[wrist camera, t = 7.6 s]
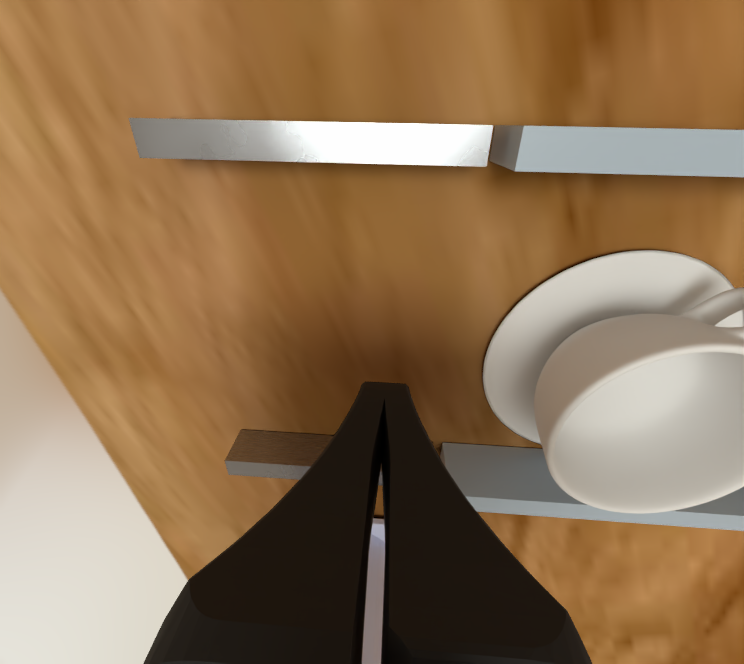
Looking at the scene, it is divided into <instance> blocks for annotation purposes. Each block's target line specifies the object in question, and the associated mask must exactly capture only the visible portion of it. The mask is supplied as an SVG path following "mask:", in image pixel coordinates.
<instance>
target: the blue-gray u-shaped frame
mask: <svg viewBox="0 0 744 664" xmlns="http://www.w3.org/2000/svg"><path fill="white" fill-rule="evenodd" d="M489 161H491V162H493V163H496V164H498V165H501V166H503V167H506V168H508V169H510V170H513V171H523V172H562V173H600V174H638V175H677V176H715V177H744V130H714V129H664V128H613V127H563V126H505V125H495V129H494V135H493V141H492V147H491V153H490V159H489ZM440 458H441V460H442V462H443V464H444V465H445V467H446V469H447V470H448V472H449V473H450V475H451V476H452V478H453V479H454V481H455V482H456V484H457V485H458V487H459V488H460V490H461V491H462V493H463V494H464V495H465V497H466V498H467V499H468V501H469V502H470V504H471V505H472V506H473V508H474V509H475V510H476V511H478V512H491V513H505V514H519V515H533V516H546V517H560V518H574V519H588V520H601V521H615V522H629V523H643V524H656V525H670V526H684V527H698V528H711V529H725V530H739V531H744V487H742V488H740V489H738V490H736V491H734V492H732V493H730V494H727V495H725V496H723V497H720V498H718V499H715V500H712V501H709V502H706V503H703V504H700V505H696V506H692V507H688V508H684V509H679V510H674V511H667V512H659V513H644V514H634V513H620V512H612V511H607V510H602V509H599V508H595V507H592V506H589V505H587V504H584V503H582V502H580V501H578V500H576V499H574V498H573V497H571V496H570V495H568V494H567V493H566V492H565V491H563V490H562V489H561V488H560V487H559V485H558V484H557V483H556V482H555V480H554V479H553V477H552V476H551V474H550V471H549V469H548V466H547V463H546V459H545V455H544V452H543V449H537V448H521V447H505V446H490V445H474V444H458V443H442V449H441V455H440Z"/></svg>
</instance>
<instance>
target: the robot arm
mask: <svg viewBox="0 0 744 664" xmlns="http://www.w3.org/2000/svg"><path fill="white" fill-rule="evenodd" d="M381 463H382V484H383V506H384V519H377V518H373V517H374V510H375V504H376V497H377V490H378V484H379V477H380V470H381ZM144 664H592V662H591V660H590V657H589V655H588V653H587V651H586V649H585V646H584V644H583V642H582V640H581V638H580V636H579V634H578V632H577V630H576V628H575V626H574V623H573V621H572V619H571V617H570V616H569V614H568V612H567V610H566V609H565V608H564V607H563V606H562V605H561V604H560V603H559V602H558V601H557V600H556V599H555V598H554V597H553V596H552V595H551V594H550V593H549V592H548V591H547V590H546V589H545V588H544V587H543V586H542V585H541V584H540V583H539V582H538V581H537V580H536V579H535V578H534V577H533V576H532V575H531V574H530V573H529V572H528V571H527V570H526V569H525V568H524V567H523V565H522V564H521V563H520V562H519V561H518V560H517V559H516V558H515V557H514V556H513V554H512V553H511V552H510V551H509V550H508V549H507V548H506V547H505V546H504V544H503V543H502V542H501V541H500V540H499V538H498V537H497V536H496V535H495V533H494V532H493V531H492V530H491V529H490V527H489V526H488V525H487V524H486V523H485V521H484V520H483V519H482V518H481V516H480V515H479V514H478V513H477V512H476V510H475V509H474V508H473V506H472V505H471V504H470V502H469V501H468V499H467V498H466V497H465V495H464V494H463V493H462V491H461V490H460V488H459V487H458V485H457V484H456V482H455V481H454V479H453V478H452V476H451V475H450V473H449V472H448V470H447V469H446V467H445V465H444V464H443V462H442V460H441V459H440V457H439V455H438V453H437V452H436V450H435V448H434V446H433V445H432V443H431V441H430V439H429V437H428V435H427V433H426V431H425V429H424V427H423V425H422V423H421V420H420V418H419V416H418V413H417V411H416V409H415V406H414V403H413V401H412V398H411V394H410V391H409V387H408V386H407V385H406V384H400V383H382V382H364V383H363V384H362V385H361V388H360V391H359V393H358V395H357V398H356V400H355V402H354V404H353V405H352V407H351V409H350V411H349V413H348V414H347V416H346V418H345V419H344V421H343V423H342V424H341V426H340V427H339V429H338V431H337V432H336V434H335V435H334V436H333V438H332V439H331V441H330V442H329V443H328V445H327V446H326V448H325V449H324V451H323V452H322V453H321V455H320V456H319V457H318V458H317V460H316V461H315V462H314V463H313V465H312V466H311V467H310V468H309V469H308V471H307V472H306V473H305V474H304V475H303V477H302V478H301V479H300V480H299V481H298V482H297V483H296V484H295V485H294V486H293V487H292V489H291V490H290V491H289V492H288V493H287V494H286V495H285V496H284V497H283V498H282V499H281V500H280V501H279V502H278V503H277V504H276V505H275V506H274V507H273V508H272V509H271V510H270V511H269V512H268V513H267V514H266V515H265V516H264V517H263V518H261V519H260V520H259V521H258V522H257V523H256V524H255V525H254V526H253V527H252V528H251V529H249V530H248V531H247V532H246V533H245V534H244V535H243V536H242V537H241V538H239V539H238V540H237V541H236V542H235V543H234V544H232V545H231V546H230V547H229V548H227V549H226V550H225V551H224V552H222V553H221V554H220V555H219V556H218V557H216V558H215V559H214V560H213V561H211V562H210V563H209V564H208V565H206V566H205V567H204V568H203V569H201V570H200V571H199V572H198V573H196V574H195V575H194V576H192V577H191V578H190V579H189V580H188V582H187V583H186V585H185V587H184V588H183V590H182V591H181V593H180V595H179V596H178V598H177V600H176V601H175V603H174V605H173V607H172V608H171V610H170V611H169V613H168V615H167V616H166V618H165V620H164V622H163V624H162V626H161V628H160V630H159V632H158V634H157V636H156V638H155V640H154V643H153V645H152V647H151V649H150V651H149V653H148V655H147V657H146V660H145V662H144Z"/></svg>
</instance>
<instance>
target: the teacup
mask: <svg viewBox="0 0 744 664" xmlns="http://www.w3.org/2000/svg"><path fill="white" fill-rule="evenodd" d="M483 385H484V391H485V395H486V398H487V401H488V403H489V405H490V407H491V409H492V411H493V412H494V413H495V415H496V416H497V417H498V418H499V420H500V421H501V422H502V423H503V424H504V425H505V426H507V427H508V428H509V429H510V430H512V431H513V432H515V433H516V434H518V435H519V436H521V437H523V438H525V439H528V440H530V441H532V442H535V443H538V444H541V445H542V448H543V452H544V455H545V459H546V463H547V466H548V469H549V471H550V474H551V476H552V477H553V479H554V480H555V482H556V483H557V484H558V485H559V487H560V488H561V489H562V490H563V491H565V492H566V493H567V494H568V495H570V496H571V497H573V498H574V499H576V500H578V501H580V502H582V503H584V504H587V505H589V506H592V507H595V508H599V509H602V510H607V511H612V512H620V513H634V514H644V513H659V512H667V511H674V510H679V509H684V508H688V507H692V506H696V505H700V504H703V503H706V502H709V501H712V500H715V499H718V498H720V497H723V496H725V495H727V494H730V493H732V492H734V491H736V490H738V489H740V488H742V487H744V287H743V288H734V287H733V286H732V284H731V283H730V282H729V280H728V279H727V278H726V277H725V276H724V275H723V274H721V273H720V272H719V271H718V270H716V269H715V268H713V267H712V266H710V265H709V264H707V263H705V262H703V261H701V260H698V259H696V258H693V257H690V256H687V255H684V254H680V253H674V252H667V251H658V250H641V251H628V252H621V253H615V254H611V255H606V256H602V257H598V258H595V259H592V260H589V261H586V262H584V263H581V264H578V265H576V266H574V267H571V268H569V269H567V270H565V271H563V272H561V273H559V274H557V275H556V276H554V277H552V278H551V279H549V280H547V281H546V282H544V283H543V284H541V285H540V286H538V287H537V288H536V289H534V290H533V291H532V292H530V293H529V294H528V295H527V296H526V297H525V298H523V299H522V300H521V301H520V302H519V303H518V304H517V305H516V306H515V307H514V308H513V309H512V310H511V312H510V313H509V314H508V315H507V316H506V318H505V319H504V320H503V321H502V323H501V324H500V326H499V327H498V329H497V331H496V332H495V334H494V336H493V338H492V340H491V342H490V345H489V347H488V350H487V353H486V356H485V360H484V367H483Z"/></svg>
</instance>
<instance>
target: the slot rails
mask: <svg viewBox="0 0 744 664" xmlns="http://www.w3.org/2000/svg"><path fill="white" fill-rule="evenodd" d="M129 121H130V125H131V128H132V132H133V135H134V139H135V142H136V146H137V150H138V153H139V157H140V158H165V159H204V160H243V161H282V162H321V163H361V164H400V165H439V166H478V167H487V161H488V155H489V148H490V142H491V136H492V130H493V125H458V124H407V123H357V122H307V121H256V120H206V119H156V118H129ZM332 438H333V436H332V435H317V434H301V433H285V432H270V431H254V430H241V431H240V432H239V434H238V436H237V438H236V440H235V442H234V444H233V446H232V448H231V450H230V452H229V454H228V456H227V457H226V459H225V463H226V467H227V470H228V474H229V475H242V476H256V477H270V478H285V479H299V480H300V479H301V478H302V477H303V475H304V474H305V473H306V472H307V471H308V469H309V468H310V467H311V466H312V465H313V463H314V462H315V461H316V460H317V458H318V457H319V456H320V455H321V453H322V452H323V451H324V449H325V448H326V446H327V445H328V443H329V442H330V441H331V439H332ZM431 443H432V445H433V442H431ZM378 485H383V484H382V463H381V470H380V477H379V484H378Z"/></svg>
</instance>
